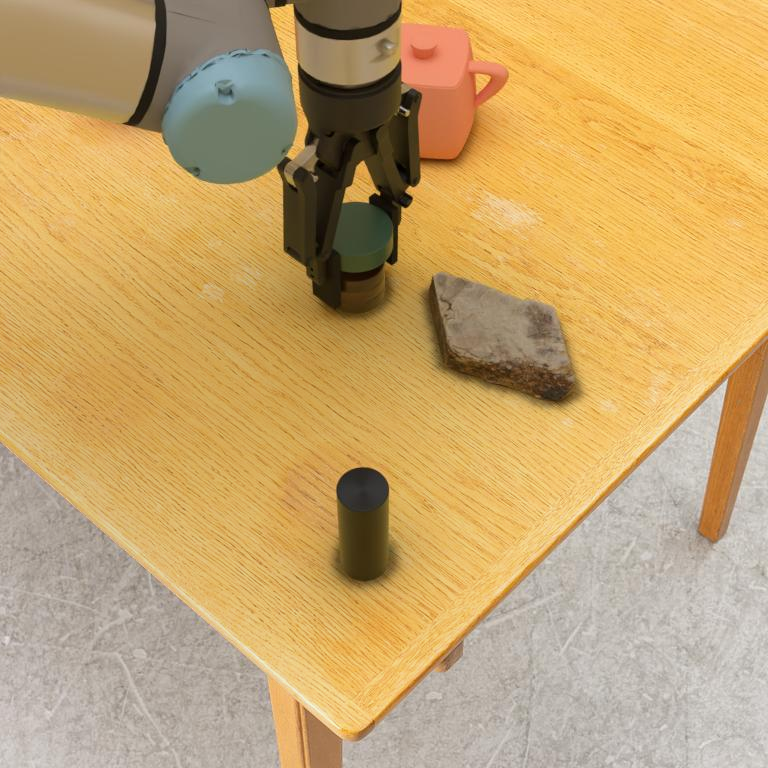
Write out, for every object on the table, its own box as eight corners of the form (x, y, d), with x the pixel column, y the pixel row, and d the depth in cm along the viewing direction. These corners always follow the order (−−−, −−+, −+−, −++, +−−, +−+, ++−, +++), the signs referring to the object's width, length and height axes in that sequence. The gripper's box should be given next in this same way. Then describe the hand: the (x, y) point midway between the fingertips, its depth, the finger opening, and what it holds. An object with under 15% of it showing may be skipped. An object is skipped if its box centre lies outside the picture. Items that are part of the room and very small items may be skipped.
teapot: (497, 174, 113) (506, 87, 105) (313, 154, 115) (308, 67, 106) (507, 98, 120) (517, 11, 112) (334, 81, 122) (331, -7, 113)
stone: (595, 337, 101) (600, 314, 98) (566, 409, 96) (571, 387, 94) (432, 288, 104) (434, 264, 102) (398, 355, 99) (398, 332, 97)
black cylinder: (343, 584, 86) (339, 514, 78) (337, 542, 88) (333, 469, 81) (391, 579, 87) (392, 508, 79) (384, 536, 89) (385, 464, 81)
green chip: (321, 276, 97) (320, 260, 95) (313, 222, 101) (312, 205, 99) (398, 268, 97) (398, 252, 96) (387, 214, 101) (387, 197, 100)
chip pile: (351, 323, 102) (350, 291, 98) (314, 289, 104) (312, 256, 101) (396, 295, 104) (397, 262, 100) (359, 261, 106) (359, 229, 103)
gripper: (288, 149, 78) (306, 364, 96) (477, 20, 87) (460, 240, 105) (213, 99, 81) (244, 316, 100) (402, -20, 90) (399, 200, 108)
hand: (355, 277), depth 102 cm, fingers closed on green chip, 6 cm apart
